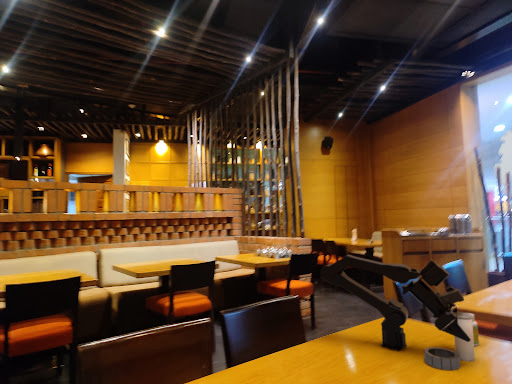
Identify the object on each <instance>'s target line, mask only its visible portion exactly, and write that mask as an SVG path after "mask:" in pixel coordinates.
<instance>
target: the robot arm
mask: <svg viewBox="0 0 512 384" xmlns="http://www.w3.org/2000/svg"><path fill="white" fill-rule="evenodd" d="M349 267H350V268H353V269H358V270H361V271H365V272H370V273H373V274H379V275H382V276H384V277H386V278H387V279H388V280H391V281H394V282H396V283H398V284H403V285H402V286H401V289H402V295H403V296H405V295H406V294H407V293H410V294H411V296H413V297H414V298H415V299H416V300H417V301H418V302H419V303H420V304H421V307H422V308H423V309H426V310H427V311H428V312H429V313H430V314H431V315H432V317H433V318H434V327H435V328H436V329H437V330H439V331H442V332H444V333H447V334H449V335H452V336H454V337H455V336H456V337H458V338H460V339H462V340H464V341H467V342H469V341H471V339H470V338H469V337H468V335H467V334H466V333H465V332H464V330H463V329H462V328H461V327H460V325H459V324H458V319H457V316H456V315H455V314H454V312H458V307H457V306H456V304H457V303H461V302H464V301H465V298H464V296H463V294H462V292H461V291H460V289H459V288H454V287H453V286H451V285H450V286H448V287H446V292H443V293H440V292H439V291H435V290H433V289H432V288H431V287H436V288H437V287H439V286H440V284H442V283H443V282H444V281H445V280H446V279H448V277H449V276H451V274H450V273H449V271H448V270H447V269H445V267H443V266H442V265H440V264H439V263H437V262H436V261H434V260H433V259H430V260H429V262H428V263H427V264H426V265H425V266H424V267H423V268H422V269H417V268H411V267H410V266H409V265H408V264H406V263H392V262H391V263H387V262H385V263H384V262H381V261H376V260H372V259H366V258H363V257H359V256H355V255H352V254H346V255H344V256H342V258H339V260H337V261H335V262H334V263H329V264H327V265H324V266H322V267H321V268H320V273H319V275H320V278H321V280H323V281H324V282H327V283H329V284H330V285H334V286H338V287H341V288H343V289H344V290H346V291H348V292H349V293H351V294H352V295H354V296H356V298H359V299H361V300H362V301H363V302H364V303H366V304H368V305H370V306H371V307H372V308H374V309H376V310H377V311H378V312H379V313H380V314H381V316H382V317H383V318H384V319H382V321H381V324H380V325H381V341H382V343H381V344H380V347H382V348H386V349H389V350H390V349H391V350H394V351H398V352H400V351H401V350H403V349H404V348H406V347H407V343H406V342H407V341H406V337H407V336H406V333H405V331H404V330H405V329H404V327H402V326H404V324H406V322H407V320H408V318H409V311H408V309H407V308H406V306H404V303H402V302H399V301H398V300H396V299H395V298H394V297H391V298H390V299H385V298H383V297H382V296H380V295H378V294H377V293H375V292H374V291H372V290H370V289H368V288H367V287H365V286H363V284H360V283H359V282H357V281H355V280H354V279H352V278H351V277H350V276H348V275H347V274H346V272H345V270H346V269H348V268H349ZM410 280H411V281H410ZM415 280H416V281H415ZM408 282H409V283H408ZM407 283H408V284H407ZM404 284H405V285H404Z"/></svg>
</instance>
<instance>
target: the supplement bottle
mask: <svg viewBox="0 0 512 384" xmlns="http://www.w3.org/2000/svg"><path fill="white" fill-rule="evenodd" d="M467 313H468V314H471V315H472V324H473V338H474V347H475V346H476V347H477V346H479V344H480V341H479V340H480V339H479V329H478V328H479V327H478V322H477V321H476V320H475V317H476V316H475V314H474V313H469V312H467Z"/></svg>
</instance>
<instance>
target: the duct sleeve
mask: <svg viewBox="0 0 512 384" xmlns="http://www.w3.org/2000/svg"><path fill="white" fill-rule="evenodd" d="M468 313H469V312H461V311H460V312H459V311H457V312H454V314H455V315H456V316H457V319H458V324H459V325H460V327H461V328H462V329H463V330H464V332H465V333H466V334H467V335H468V337H469V338H470V339H471V341H469V342H467V341H464V340H462V339H460V338H458V337H456V336H454V348H455V351H454V352H457V353H458V354H459V356H460V361H464V362H474V361H476V356H475V355H476V354H475V346H474V338H473V324H472V315H471V314H472V313H470V314H468Z"/></svg>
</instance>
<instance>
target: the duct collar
mask: <svg viewBox="0 0 512 384" xmlns="http://www.w3.org/2000/svg"><path fill="white" fill-rule="evenodd" d="M423 357H424V358H423V359H424V362H425V364H426V365H428V366H430V367H431V368H435V369H439V370H443V371H455V370H456V371H457V370H459V369H460V367H461V360H460V356H459V354H458V353H457V352H455V351H454V350H452V349H450V348H449V349H448V348H444V347H438V346H437V347H436V346H435V347H434V346H433V347H426V348H425V349H423Z"/></svg>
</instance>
